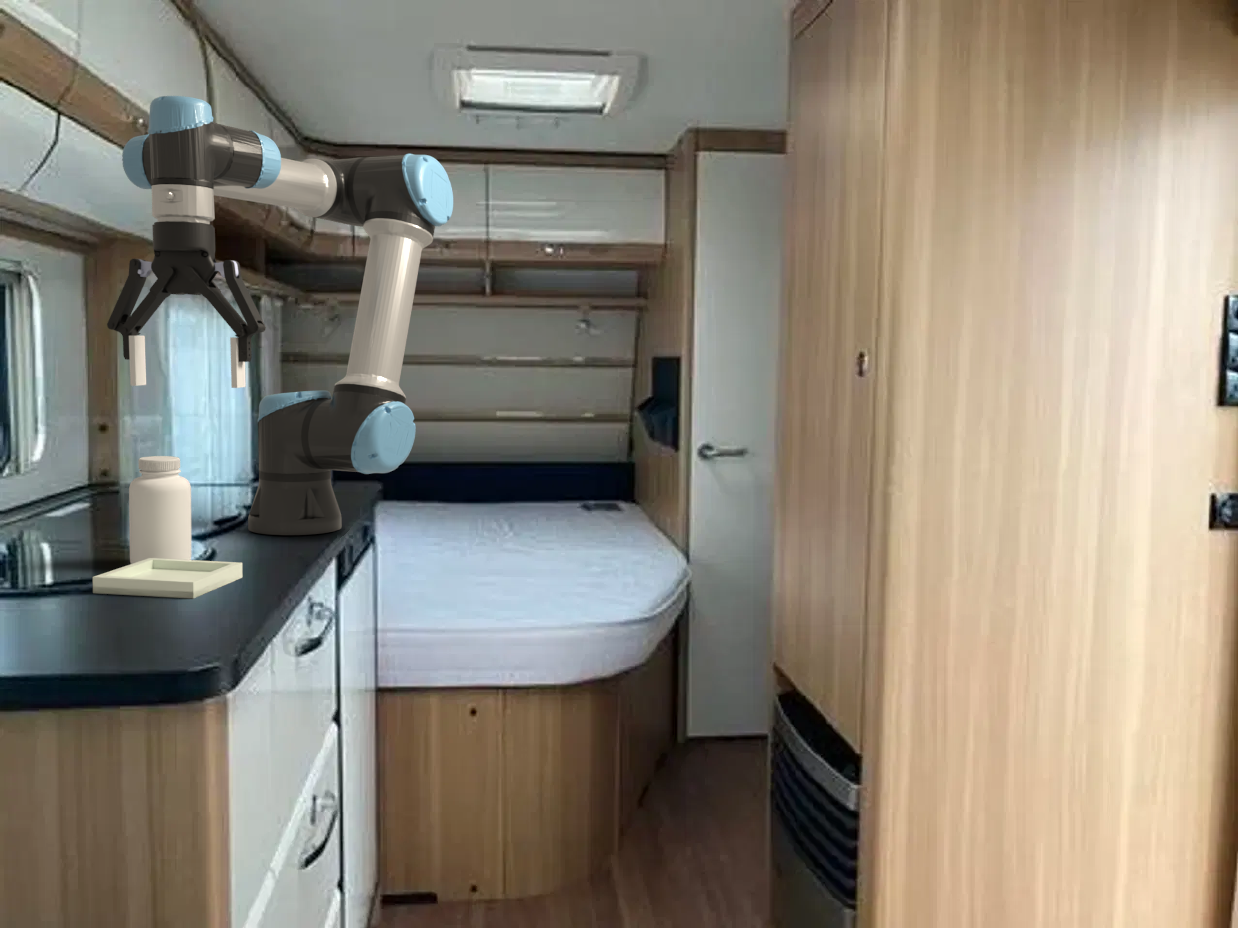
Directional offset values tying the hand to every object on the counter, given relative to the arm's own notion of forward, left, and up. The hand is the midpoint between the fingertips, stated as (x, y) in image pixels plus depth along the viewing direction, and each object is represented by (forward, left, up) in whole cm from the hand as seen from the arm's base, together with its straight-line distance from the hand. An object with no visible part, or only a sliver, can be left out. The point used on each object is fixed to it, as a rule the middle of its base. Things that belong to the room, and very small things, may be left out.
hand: (188, 386), depth 146 cm
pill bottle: (-5, -7, -25) cm, 27 cm away
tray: (+7, +1, -25) cm, 26 cm away
